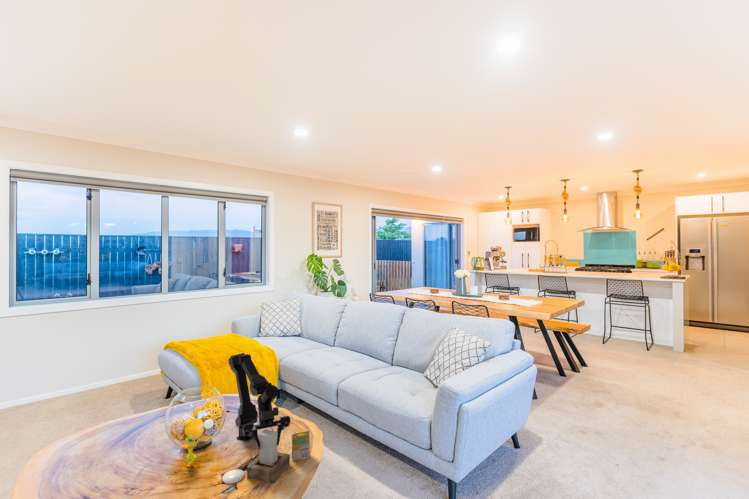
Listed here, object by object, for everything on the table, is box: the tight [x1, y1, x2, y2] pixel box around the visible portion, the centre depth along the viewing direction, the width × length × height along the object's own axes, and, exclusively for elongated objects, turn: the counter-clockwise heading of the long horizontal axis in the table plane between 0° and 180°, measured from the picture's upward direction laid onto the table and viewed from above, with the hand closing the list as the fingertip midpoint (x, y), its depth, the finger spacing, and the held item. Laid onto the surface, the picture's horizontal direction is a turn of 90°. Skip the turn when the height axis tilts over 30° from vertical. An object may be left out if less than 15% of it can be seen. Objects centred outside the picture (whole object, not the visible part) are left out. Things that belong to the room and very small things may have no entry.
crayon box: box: [291, 430, 311, 462], centre depth 156 cm, size 7×3×12 cm, turn 111°
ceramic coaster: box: [222, 468, 245, 485], centre depth 143 cm, size 8×8×1 cm
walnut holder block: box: [246, 451, 291, 484], centre depth 146 cm, size 12×12×4 cm
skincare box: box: [258, 428, 279, 467], centre depth 147 cm, size 6×4×12 cm
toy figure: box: [179, 436, 197, 468], centre depth 150 cm, size 7×4×12 cm, turn 92°
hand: (268, 447), depth 145 cm, fingers closed on skincare box, 7 cm apart
